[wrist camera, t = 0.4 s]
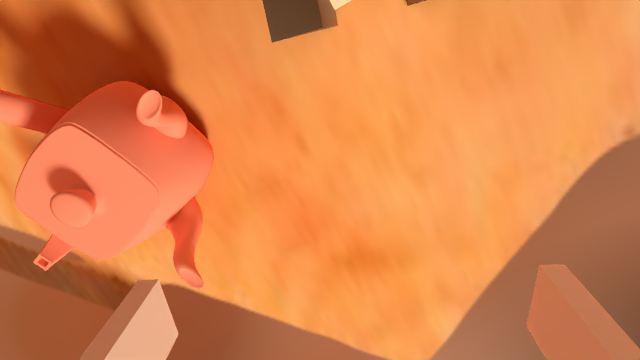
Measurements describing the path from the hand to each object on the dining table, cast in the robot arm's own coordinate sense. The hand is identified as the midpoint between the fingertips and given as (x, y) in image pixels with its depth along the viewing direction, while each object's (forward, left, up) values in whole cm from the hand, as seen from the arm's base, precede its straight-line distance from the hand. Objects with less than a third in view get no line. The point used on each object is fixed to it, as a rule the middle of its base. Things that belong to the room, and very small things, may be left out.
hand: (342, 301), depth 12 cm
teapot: (+3, -22, -28) cm, 35 cm away
